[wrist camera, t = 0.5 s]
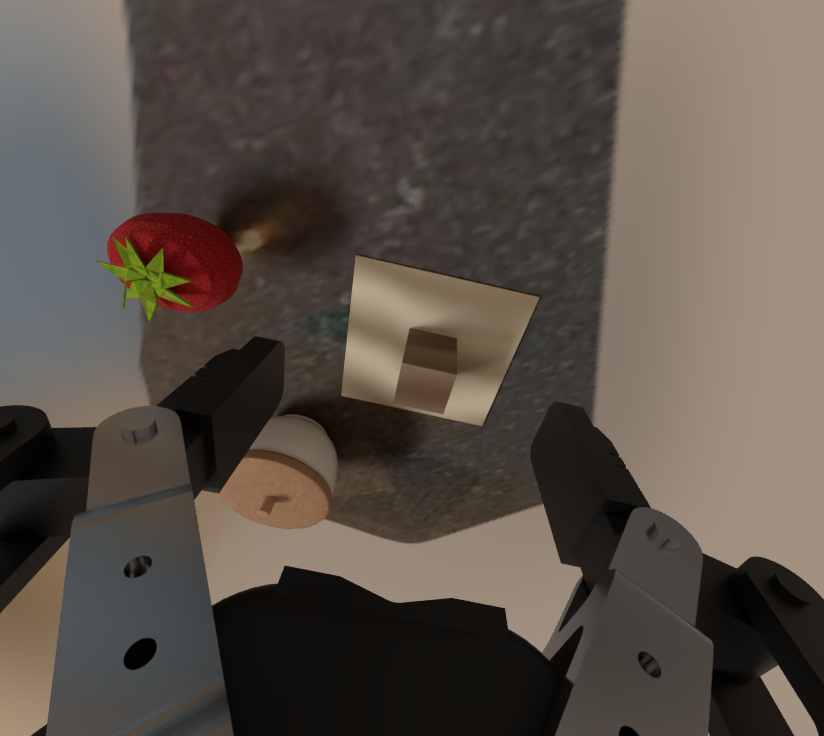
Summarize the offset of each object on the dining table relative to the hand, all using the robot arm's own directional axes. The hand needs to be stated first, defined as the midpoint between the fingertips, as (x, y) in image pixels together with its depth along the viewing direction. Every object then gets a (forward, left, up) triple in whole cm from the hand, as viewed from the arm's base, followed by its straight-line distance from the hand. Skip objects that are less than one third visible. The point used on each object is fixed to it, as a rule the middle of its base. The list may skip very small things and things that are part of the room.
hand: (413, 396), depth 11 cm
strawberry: (+4, -15, -18) cm, 24 cm away
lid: (+10, +2, -18) cm, 21 cm away
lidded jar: (+24, -9, -18) cm, 32 cm away
